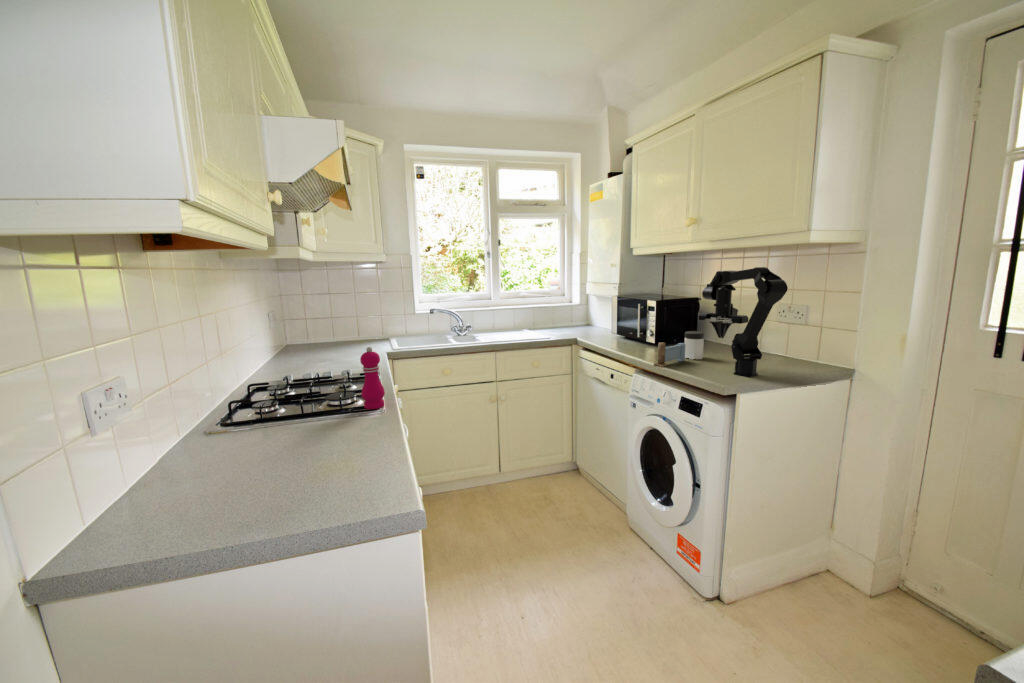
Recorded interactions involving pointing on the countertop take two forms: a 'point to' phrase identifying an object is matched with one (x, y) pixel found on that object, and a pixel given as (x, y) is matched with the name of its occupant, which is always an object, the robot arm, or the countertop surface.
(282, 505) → the countertop surface
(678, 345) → the gate
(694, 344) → the jar
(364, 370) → the pepper mill
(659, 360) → the hinge post
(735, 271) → the robot arm
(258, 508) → the countertop surface
